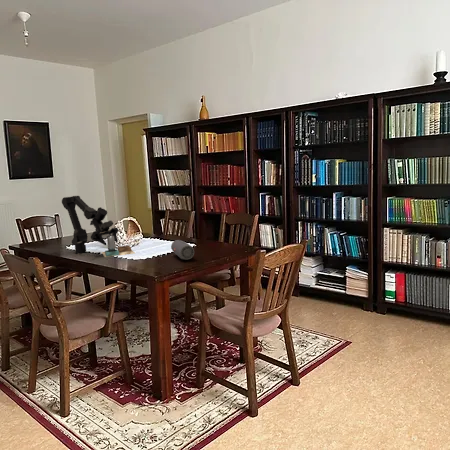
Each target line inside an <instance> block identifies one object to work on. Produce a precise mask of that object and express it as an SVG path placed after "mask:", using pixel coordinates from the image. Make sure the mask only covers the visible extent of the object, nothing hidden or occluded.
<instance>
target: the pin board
mask: <svg viewBox="0 0 450 450" xmlns="http://www.w3.org/2000/svg"><path fill="white" fill-rule="evenodd" d="M101 253H102V255H103V257H104V258H108V257H109V258H110V257H117V256H125V255H133V254H136V252H135V251H134V250H133V249H132V247H131V245H126V246H123V245H122V246H117V248H115V251H114V252H108V249H107V250H105V251H101Z"/></svg>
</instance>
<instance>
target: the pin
mask: <svg viewBox="0 0 450 450" xmlns="http://www.w3.org/2000/svg"><path fill="white" fill-rule="evenodd" d="M115 243H116V242H115V241H114V236H110V235H106V244H107V250H108V252H114V251H115V249H116V244H115Z"/></svg>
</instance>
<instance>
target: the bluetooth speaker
mask: <svg viewBox="0 0 450 450" xmlns="http://www.w3.org/2000/svg"><path fill="white" fill-rule="evenodd" d="M170 247H171V248H170V249H171V250H172V252H173V253H174V254H175V255H176V256H177V257H179V259H180V260H182V261H184V260H185V261H187V260H190V259H192V258H193V257H194V255H195V249H194V248H193V246H191V244H189V243H187V242H185V241H184V240H181V239H176V240H174V241H173V242H172V243H171V246H170Z"/></svg>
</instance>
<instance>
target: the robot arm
mask: <svg viewBox="0 0 450 450" xmlns="http://www.w3.org/2000/svg"><path fill="white" fill-rule="evenodd" d="M61 204H62V206H63V208H64V209H65V210H67V213H68V215H69V216H68V217H69V218H70V222H71V225H72V228H73V234H72V235H73V238H72V240H71V243H72V245H74V250H75V251H74V252H75V254H83V253H84V254H85V253H86V252H87V246H86V243H88V238H89V237H88V236H89V235H88V233H87V230H86V229H85V228H82V225H81V222H80V219H79V216H78V214H77V210H76V206H77V207H78V208H79V209H80V210H81V211H82V213H83V216H84V217H85V218H86V220H90V224H89V225H90V226H93V228H95V229H94V231H93V232H92V234H91V235H90V239H91V241H95V242H98V243H100V244H102V245H104V246H106V245H107V241H106V240H105V239H104V238H103V236H114V241H115V243H119V239H118V236H117V235H118V232H119V231H120V230H119V228H118V227H113V228H112V226H113V225H114V222H113V221H112V220H108V221H104V220H105V218H106V216H107V215H108V211H107V210H106V209H105V208H103V207H97V210H96V209H95V208H93V207H92V206H89V205H88V204H87V203H86V202H85V201H84V200H83V199H82V198H81V196H80V195H71V196H65V197H63V198H62V199H61ZM103 221H104V222H103Z"/></svg>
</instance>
